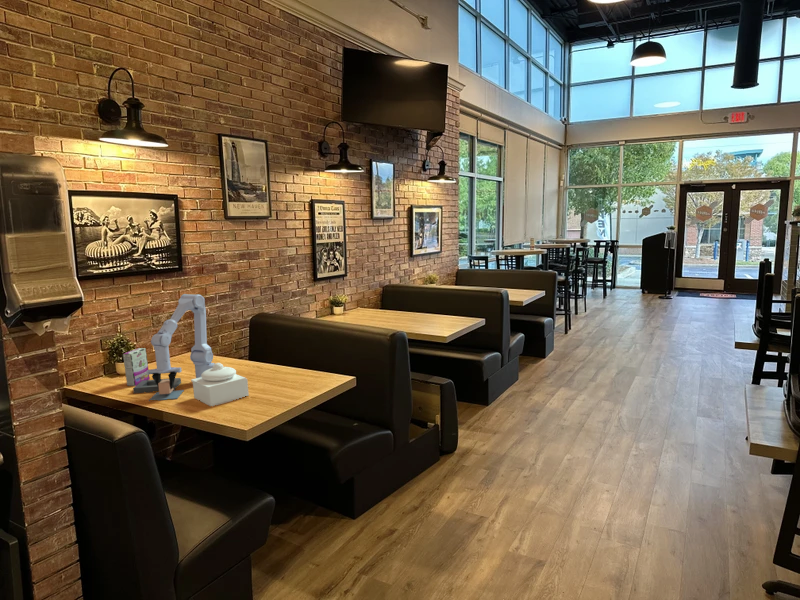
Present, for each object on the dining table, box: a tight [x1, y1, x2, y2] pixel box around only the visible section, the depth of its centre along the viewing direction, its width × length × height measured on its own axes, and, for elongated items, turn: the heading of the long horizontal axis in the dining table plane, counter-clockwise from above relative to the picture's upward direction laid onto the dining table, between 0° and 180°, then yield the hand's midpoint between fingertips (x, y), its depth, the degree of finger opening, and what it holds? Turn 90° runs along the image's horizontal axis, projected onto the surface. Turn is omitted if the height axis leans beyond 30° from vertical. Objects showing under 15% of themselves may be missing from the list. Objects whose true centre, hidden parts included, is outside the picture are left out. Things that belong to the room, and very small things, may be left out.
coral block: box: [158, 378, 175, 394], centre depth 241 cm, size 4×6×5 cm
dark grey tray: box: [132, 377, 182, 394], centre depth 254 cm, size 18×12×2 cm
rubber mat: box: [148, 389, 185, 402], centre depth 242 cm, size 12×12×1 cm
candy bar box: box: [122, 347, 151, 387], centre depth 263 cm, size 11×5×16 cm, turn 168°
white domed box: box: [190, 362, 250, 407], centre depth 236 cm, size 18×18×16 cm
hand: (166, 388), depth 241 cm, fingers closed on coral block, 4 cm apart
